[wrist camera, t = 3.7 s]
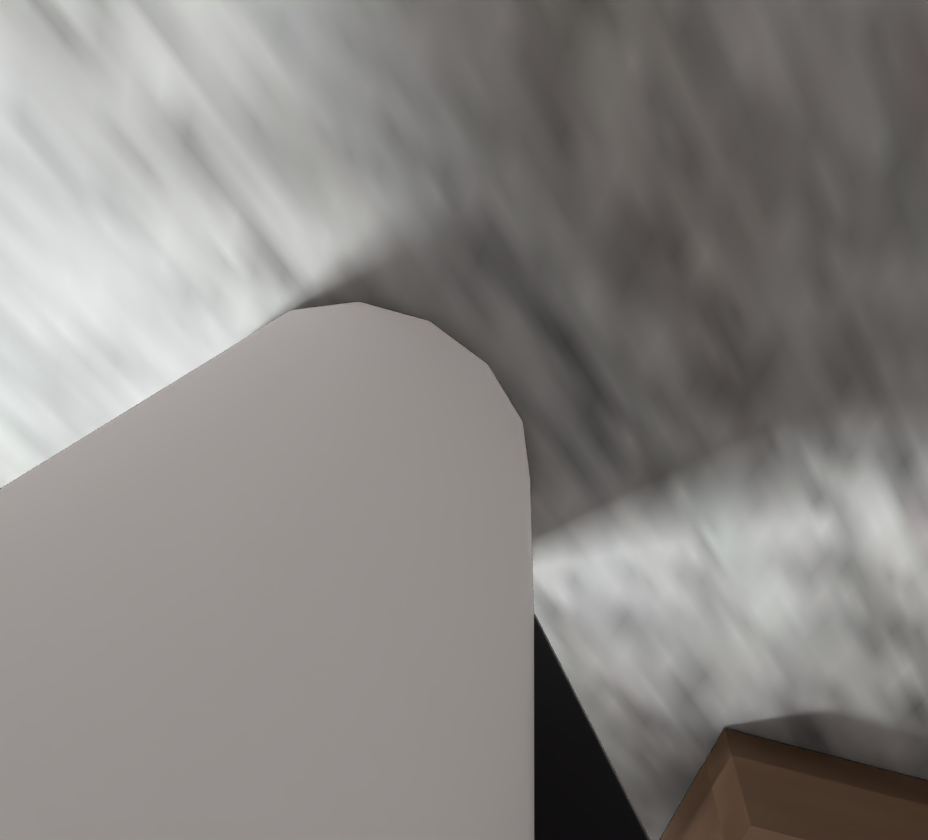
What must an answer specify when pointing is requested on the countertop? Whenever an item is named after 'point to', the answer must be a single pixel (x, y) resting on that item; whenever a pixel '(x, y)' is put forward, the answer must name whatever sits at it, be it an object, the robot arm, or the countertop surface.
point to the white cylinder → (278, 601)
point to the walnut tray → (796, 797)
